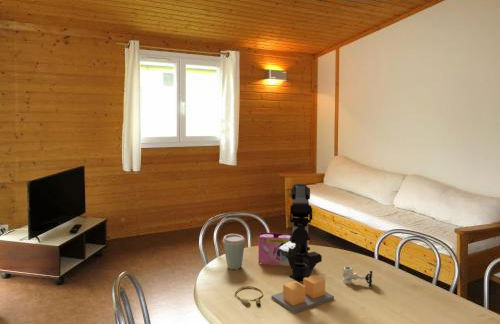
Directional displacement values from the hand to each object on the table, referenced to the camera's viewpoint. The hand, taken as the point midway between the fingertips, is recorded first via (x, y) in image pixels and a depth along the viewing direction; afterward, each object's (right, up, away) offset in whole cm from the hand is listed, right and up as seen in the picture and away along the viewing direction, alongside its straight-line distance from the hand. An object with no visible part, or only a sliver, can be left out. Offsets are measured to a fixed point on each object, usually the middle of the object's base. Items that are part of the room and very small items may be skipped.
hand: (299, 273), depth 153 cm
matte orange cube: (-2, -10, -1) cm, 10 cm away
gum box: (-4, -6, +40) cm, 40 cm away
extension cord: (-20, -11, +4) cm, 23 cm away
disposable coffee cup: (-27, -7, +34) cm, 44 cm away
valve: (+26, -9, +16) cm, 32 cm away
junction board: (+1, -11, +2) cm, 11 cm away
